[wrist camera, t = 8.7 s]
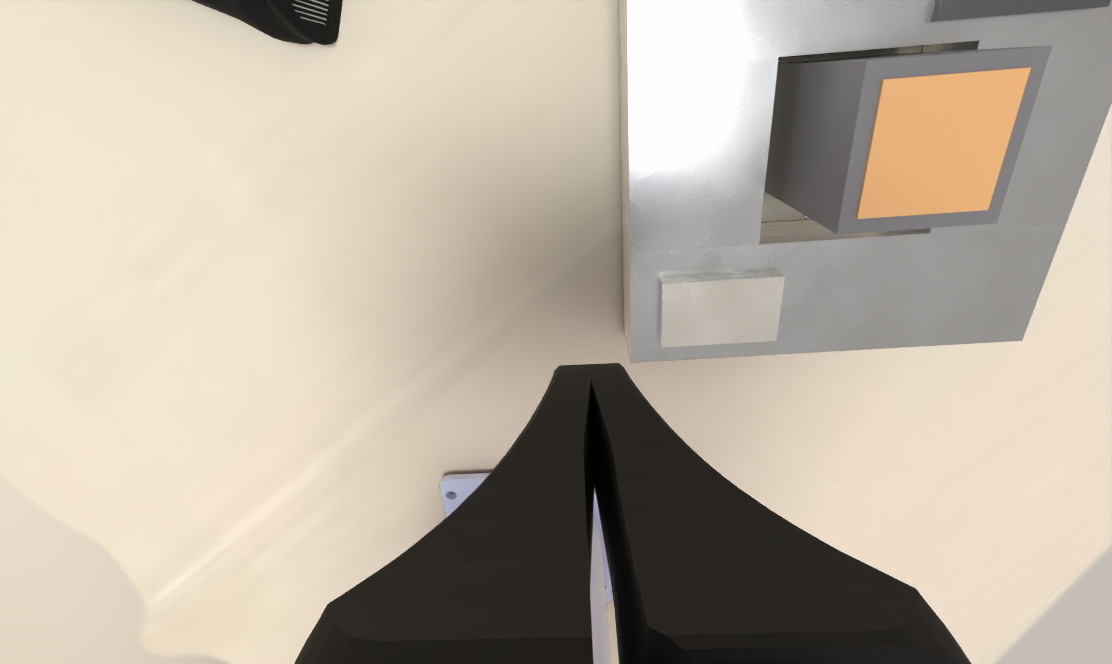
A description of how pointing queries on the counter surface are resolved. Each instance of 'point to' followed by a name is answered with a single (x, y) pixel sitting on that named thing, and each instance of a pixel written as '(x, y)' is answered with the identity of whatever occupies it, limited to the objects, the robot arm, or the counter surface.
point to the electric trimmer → (286, 17)
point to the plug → (901, 136)
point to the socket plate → (804, 245)
